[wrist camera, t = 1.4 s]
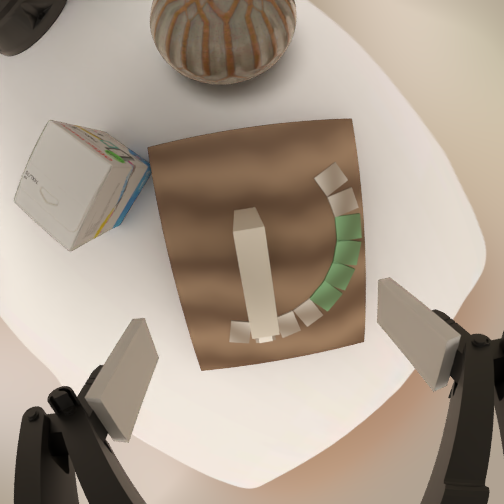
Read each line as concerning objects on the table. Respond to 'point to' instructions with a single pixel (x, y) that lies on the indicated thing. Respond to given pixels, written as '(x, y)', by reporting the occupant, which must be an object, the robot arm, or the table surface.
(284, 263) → the board
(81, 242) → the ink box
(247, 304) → the cream dial pointer
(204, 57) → the vase
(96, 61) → the table surface
